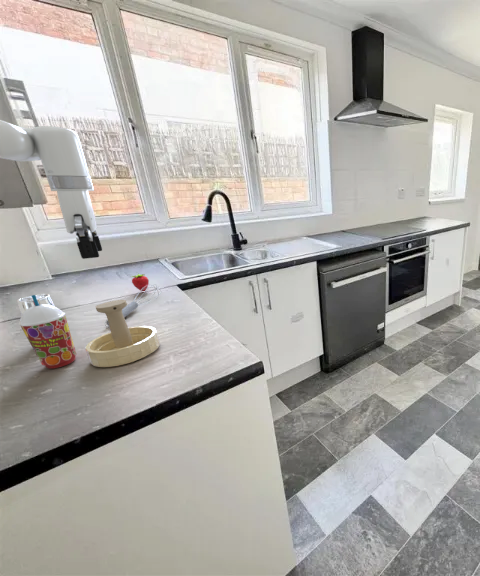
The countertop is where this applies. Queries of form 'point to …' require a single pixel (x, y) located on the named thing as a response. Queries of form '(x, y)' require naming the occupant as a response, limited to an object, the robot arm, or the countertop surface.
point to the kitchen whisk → (133, 304)
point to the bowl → (109, 355)
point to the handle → (117, 322)
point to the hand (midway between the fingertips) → (92, 254)
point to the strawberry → (140, 282)
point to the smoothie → (48, 334)
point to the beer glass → (28, 301)
